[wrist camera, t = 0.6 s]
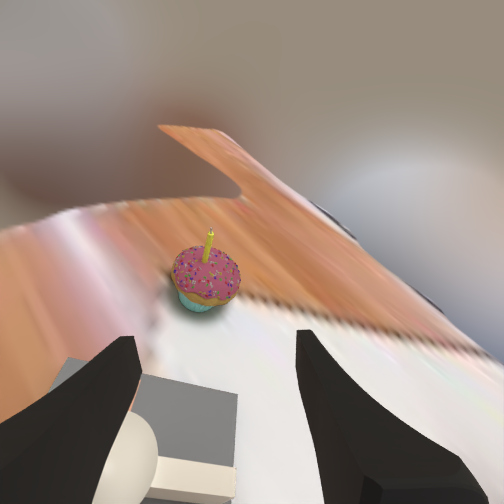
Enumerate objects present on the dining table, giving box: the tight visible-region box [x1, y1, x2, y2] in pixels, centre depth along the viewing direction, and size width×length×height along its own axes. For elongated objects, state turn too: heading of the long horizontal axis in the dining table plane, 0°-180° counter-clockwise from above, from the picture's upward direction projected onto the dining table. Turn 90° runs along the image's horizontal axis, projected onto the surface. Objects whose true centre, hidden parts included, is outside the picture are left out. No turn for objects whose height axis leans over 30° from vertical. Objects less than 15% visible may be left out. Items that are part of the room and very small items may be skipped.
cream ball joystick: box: [92, 411, 236, 504], centre depth 19 cm, size 12×6×4 cm, turn 89°
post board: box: [47, 357, 238, 504], centre depth 21 cm, size 14×16×2 cm
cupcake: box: [171, 227, 241, 312], centre depth 34 cm, size 9×8×12 cm
